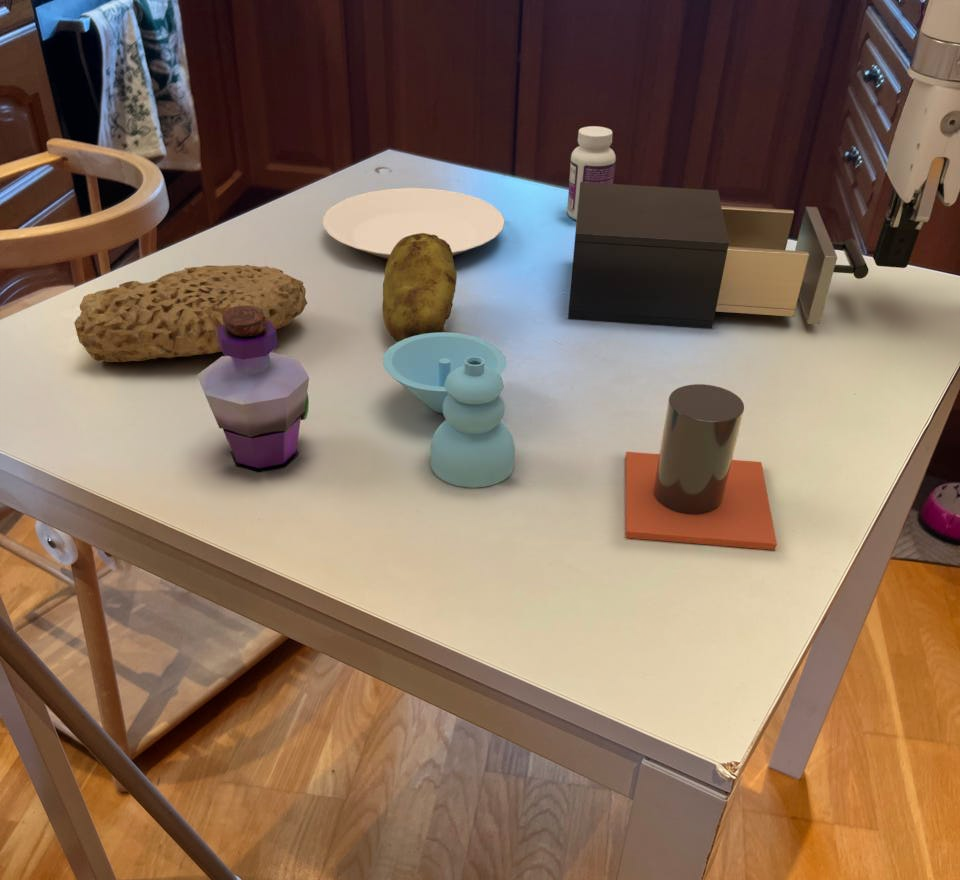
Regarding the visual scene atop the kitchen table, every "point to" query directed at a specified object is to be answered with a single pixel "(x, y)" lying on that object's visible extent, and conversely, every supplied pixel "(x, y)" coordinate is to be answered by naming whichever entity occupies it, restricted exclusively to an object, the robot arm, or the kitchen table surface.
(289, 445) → the potion bottle
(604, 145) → the pill bottle
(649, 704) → the kitchen table surface
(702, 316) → the dark brown box
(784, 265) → the drawer
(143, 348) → the sponge
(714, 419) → the dark glossy cylinder
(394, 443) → the kitchen table surface
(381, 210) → the plate
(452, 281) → the potato
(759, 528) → the mat
